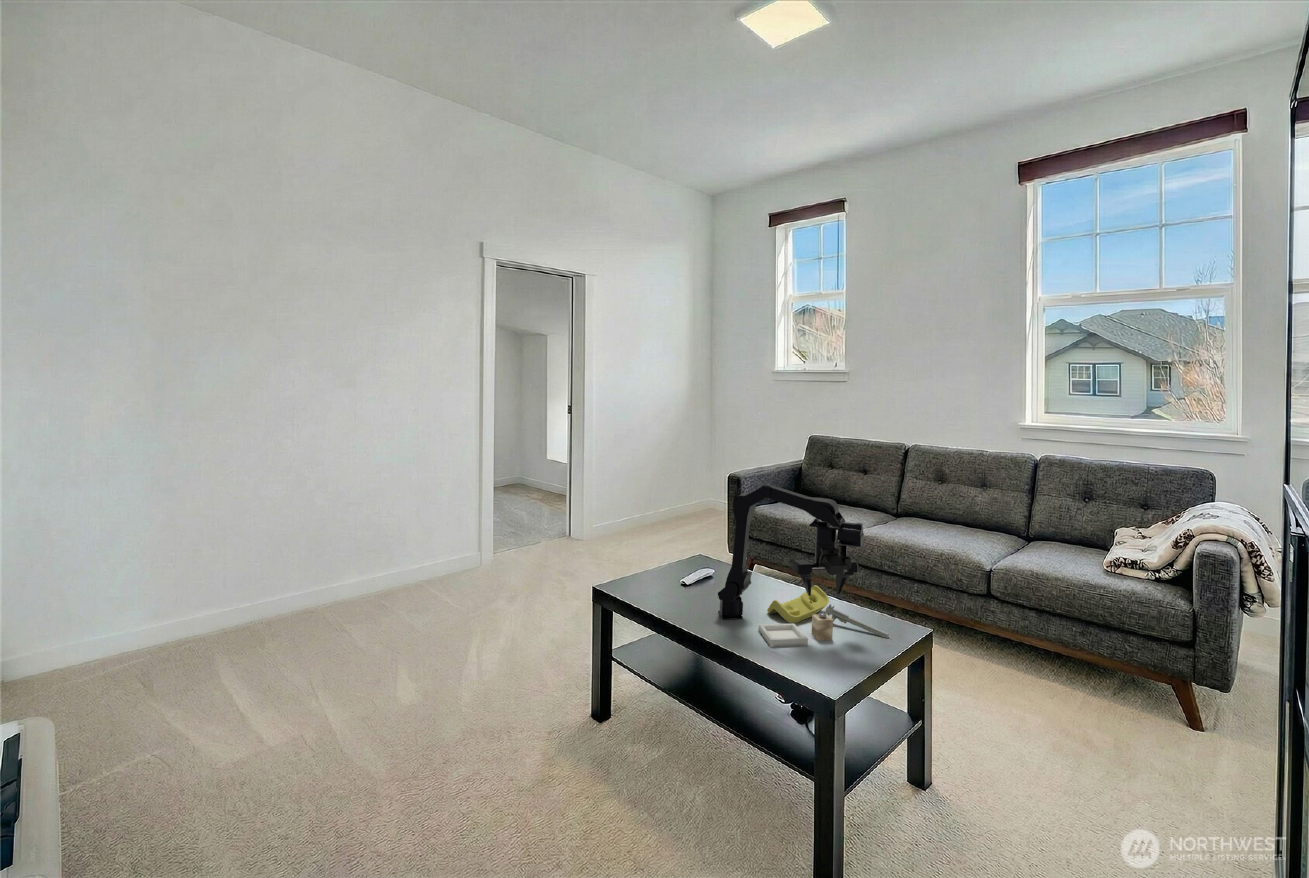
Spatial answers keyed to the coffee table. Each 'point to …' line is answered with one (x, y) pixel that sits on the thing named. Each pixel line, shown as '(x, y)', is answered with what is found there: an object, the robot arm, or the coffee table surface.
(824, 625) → the block
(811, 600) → the plastic component
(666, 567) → the coffee table surface
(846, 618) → the caliper
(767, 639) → the housing tray
